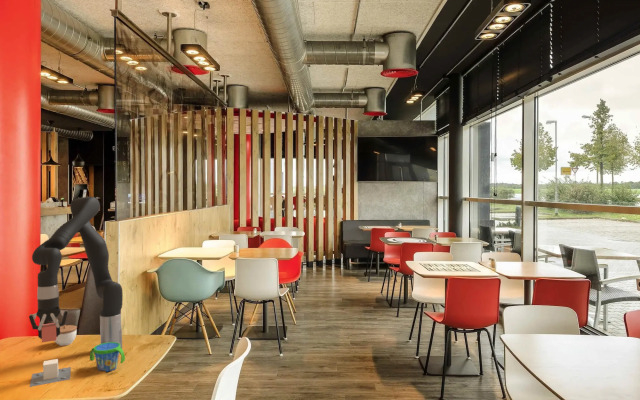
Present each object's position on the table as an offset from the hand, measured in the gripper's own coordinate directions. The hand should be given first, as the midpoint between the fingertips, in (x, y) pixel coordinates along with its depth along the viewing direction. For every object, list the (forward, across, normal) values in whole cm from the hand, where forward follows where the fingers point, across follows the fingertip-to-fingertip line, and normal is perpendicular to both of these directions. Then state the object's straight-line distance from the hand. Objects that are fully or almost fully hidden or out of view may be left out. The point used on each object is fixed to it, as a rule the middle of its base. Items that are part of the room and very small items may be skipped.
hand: (49, 337), depth 184 cm
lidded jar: (+17, -4, -45) cm, 48 cm away
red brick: (+1, 0, 0) cm, 1 cm away
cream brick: (+16, 0, 0) cm, 16 cm away
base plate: (+17, 0, 0) cm, 17 cm away
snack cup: (+17, -21, +1) cm, 27 cm away
